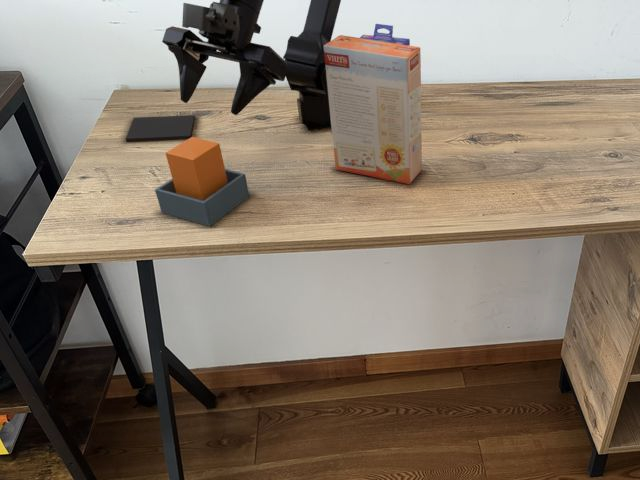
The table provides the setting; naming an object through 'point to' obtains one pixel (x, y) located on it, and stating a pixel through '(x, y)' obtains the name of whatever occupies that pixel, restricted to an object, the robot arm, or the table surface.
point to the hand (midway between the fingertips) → (208, 107)
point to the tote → (206, 209)
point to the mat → (161, 128)
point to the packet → (197, 168)
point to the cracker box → (375, 107)
